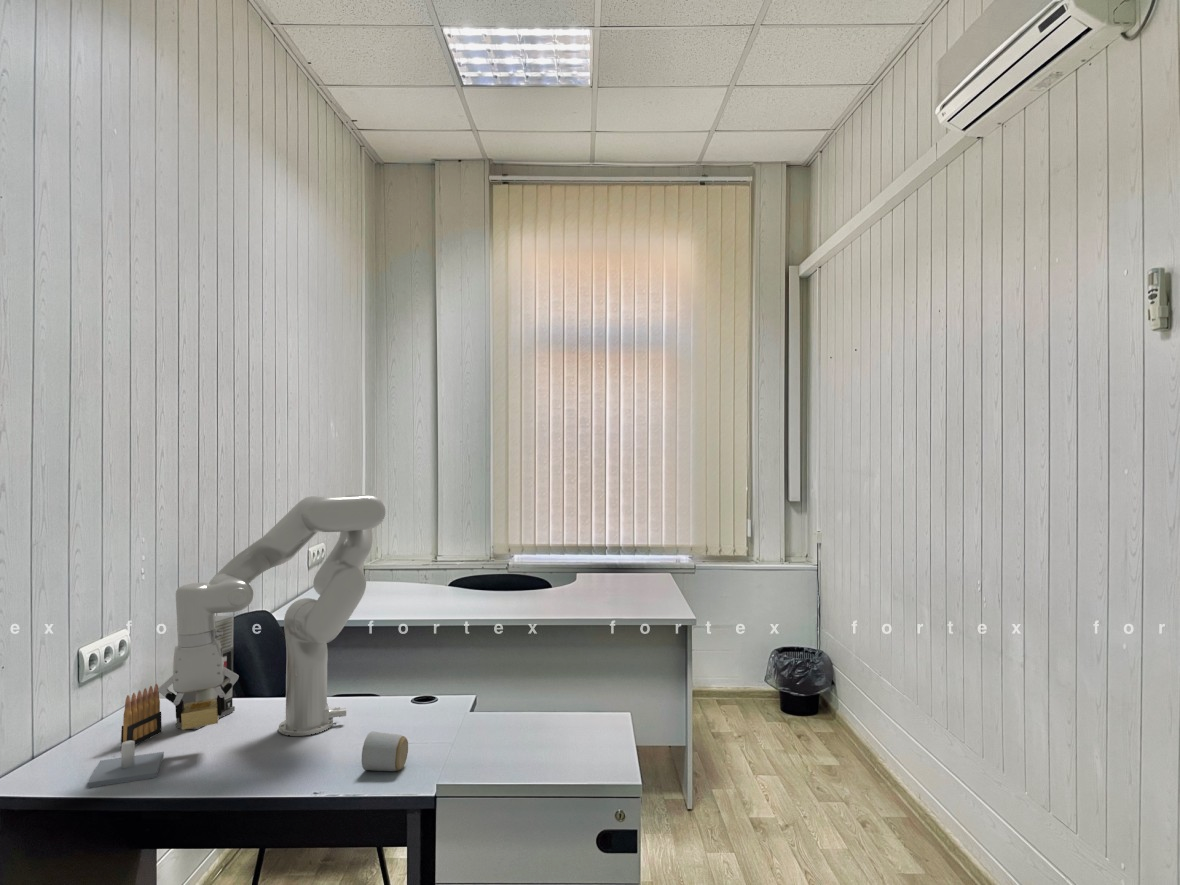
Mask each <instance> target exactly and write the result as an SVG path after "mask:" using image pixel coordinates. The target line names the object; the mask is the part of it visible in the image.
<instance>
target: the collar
mask: <svg viewBox="0 0 1180 885" xmlns="http://www.w3.org/2000/svg"><path fill="white" fill-rule="evenodd" d="M181 720H182V728H181V730H182V731H183V730H190V729H189V728H195V727H200V726H202V727H204V726H211V725H216V724H219V720H220V718H219V715H218V706H217V698H215V699H209V700H203V701H198V702H192V703H186V704H184V708H183V711H182V713H181ZM200 728H201V727H200Z"/></svg>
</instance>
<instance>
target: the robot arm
mask: <svg viewBox="0 0 1180 885" xmlns="http://www.w3.org/2000/svg"><path fill="white" fill-rule="evenodd" d="M385 518H386V507H385V505H384V502H383V501H382V500H381V499H379V498H378V497H377V496H374V495H366V494H356V493H355V494H347V495H345V496H344V497H343V496H341V497H329V496H328V497H327V496H326V497H325V496H306V497H303V498H302V499H300V501H299V502H297V503H296V504H295V505H294V506H293V507H292V508H291V509H290V510H289V511H288V512H287V513H285V515H284V516H283V517H282V518H281V519H280V520H279V521H278V522H276V524H275V525H274V526H273V527H272V528H270V529H269V530H268V531H267V532H266V533H265V534H264V535H263V536H262V537H260V538H259V539H258V540H256V541H255V542H253V543H252V544H251V545H249V546H248V547H246V548H245V549H243V550H242V551H241V552H239V553H238V554H236V555H235V556H234V557H233V558H231V559H230V560H229V561H228V562H227V563H226V564H225V565H224V566H223V567H222V568H221V569H219V571H218V572H217V573H216V574H215V575H214V576H213V577H212V579H210V581H209V582H194V583H187V584H183V585H181V586H179V587H178V588H177V589H176V590H175V608H176V610H175V611H176V612H175V613H176V627H177V645H176V646H175V647H174V652H173V661H172V675H171V676H170V677H169V678H168V679H167V680H165V681H164V682H163V683H162V684H161V685H160V686H158V688H159V689H158V692H159V694H160V695H162V696H163V697H164V698H165V699H166V700H168V701H169V702H170V703H172V704H173V705H174V706H175V718H176V719H177V718H179V723H181V722H182V720H181V713H182V711H183V708H184V701H183V700H182V697H183V695H184V693H185V692H192V691H198V690H204V689H210V688H214V690H215V691H216V692H217V694H218V696H217V706H218V715H219V716H221V714H222V710H225V699H224V696H225V695H226V693H227V692H228V691H229V690H230V689H231V688H232V686H233V687H234V685H235V684H236V682H238V680H239V677H240V676H239V674H237V673H236V672H234V671H233V672H232V671H231V670H229V669H227V668H225V667H224V661H223V653H222V648H221V644H220V641H219V640H216V639H217V637H220V636H223V631H222V630H221V631H219V630H217V629H216V628H215V616H216V615H215V614H224V613H226V614H228V613H237V612H240V611H243V610H244V609H246V608H248V606H250V604H251V603H252V601H253V599H254V589H253V588H252V586H251V582H253V581H254V580H255V579H256V578H257V577H259V576H260V575H261V574H263V573H265V572H266V571H268V570H270V569H272V568H275V567H278V566H280V565H284V564H285V563H287V562H289V561H290V560H292V559H293V558H295V556H296V555H297V553H298V552H300V550H302V548H304V547H305V545H307V544H308V543H309V542H310V540H312V538H314V536H315V535H316V534H318V533H320V532H322V533H334V532H336V533H337V532H338V533H339V532H340V533H339V538H338V540H337V541H336V543H335V545H334V546H333V549H332V550H331V551H330V553H329V554H328V555H327V558H326V559H324V560H325V561H324V562H323V563H322V564H321V566H320V568H319V569H318V570H317V572H316V574H315V575H314V579H313V582H312V583H313V588H314V590H315V593H317V594H318V595H319V596H318V598H317V599H315V598H309V597H307V598H306V597H305V598H304V597H303V598H299V599H297V600H295V601H293V603H291V604H290V606H289V607H288V608H287V609H286V612H285V614H284V618H283V629H284V630H283V631H284V637H285V647H286V667H285V668H286V670H285V672H286V673H285V719H284V720H283V721H281V722H280V723H279V724H278V732H279V733H280V734H281V735H284V736H288V735H290V736H289V737H303V736H305V737H306V736H311V734H312V735H315V733H316V734H319V732H320V733H322V731H323V732H325V731H327V730H329V729H330V728H332V727H333V725H334V718H338V717H339V718H343V717H346V716H347V708H346V707H344V708H341V707H340V706H337V707H330V706H329V705H328V704H329V703H328V698H327V697H328V644H327V643H330V642H332V641H333V640H335V639H336V638H337V636H339V634H340V633H341V632H342V630H343V629H344V628H345V625H346V624H347V623H348V621H349V619H350V618H351V616H352V615H353V613H354V612H355V610H356V608H357V606H358V605H359V603H360V602H361V600H362V599H363V598H364V596H365V591H366V588H367V579H366V576H365V573H364V571H363V570H362V569H361V568H362V566H363V565H364V563H365V561H366V559H367V558H368V556H369V554H370V551H371V549H372V545H373V529H374V528H377V527H378V526H379V525H381V524H382V522H383V521H384V519H385ZM225 676H227V677H229V678H230V680H229V682H228V683H227V684H226V685H225V686H224V687H223V686H222V684H223V680H224V677H225ZM170 686H172V688H173V692H172V691H171V690H169V687H170ZM174 692H175V693H176V694H175V693H174ZM328 728H329V729H328ZM326 729H327V730H326ZM324 730H325V731H324Z"/></svg>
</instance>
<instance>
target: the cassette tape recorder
mask: <svg viewBox="0 0 1180 885" xmlns="http://www.w3.org/2000/svg"><path fill="white" fill-rule="evenodd" d="M234 618H235V616H232V615H231V616H230V615H229V616H228V615H215V628H216V629H217V630H219V631H221V630H222V631H223V636H220V637H217V639H216V640H219V641H220V644H221V648H222V653H223V661H224V667H225V668H227V669H229V670H231V671H232V672H234V631H235V630H234V626H235V625H234V621H235V620H234ZM229 680H230V678H229V677H227V676H225V677H224V680H223V684H222V686H223V687H224V686H225V685H226V684H227V683H228V682H229ZM233 687H234V685H233V686H232V688H231V689H230V690H229V691H228V692H227V693H226V695H225V696H224V699H225V710H222V714H221V716H219V719H220V718H222V717H225V716H226V715H229V714H232V713H234V712H235V711H236V710H235V709H236V707H235V706H233V696H234V695H233V693H234V692H233ZM217 696H218V694H217V692H216V691H215V690H214V688H210V689H204V690H198V691H192V692H185V693H184V695H183V697H182V700H183V701H184V704H186V703H192V702H198V701H203V700H209V699H215V698H217ZM231 712H232V713H231ZM200 728H203V726H200V727H195V728H189V729H188V730H194V731H196V729H197V730H199V729H200ZM175 729H182V722H181V723H179V718H176V722H175Z"/></svg>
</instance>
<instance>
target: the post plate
mask: <svg viewBox="0 0 1180 885" xmlns="http://www.w3.org/2000/svg"><path fill="white" fill-rule="evenodd" d="M135 746H136V745H135V741H125V742H123V743H122V744H121V743H120V749H121V752H120V755H121V756H120V757H116V758H115V757H114V758H108V759H102V760H101V759H100V760H99V761H98V763H97V766H96V767H95V769H94V770H93V773H92V774H91V776H90V778H89V780H88V782H87V788H88V787H89V788H94V787H93V786H96V787H100V786H101V785H103V786H108V785H116V784H122V783H127V782H134V781H143V780H147V779H148V780H149V779H154V778H157V777H158V774H159V772H160V768H161V765H162V762H163V761H164V760H163V759H164V755H165V752H164V751H159V752H153V753H151V752H150V753H145V754H138V755H136V754H135V753H136V751H135V750H136V749H135V748H136V747H135Z"/></svg>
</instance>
